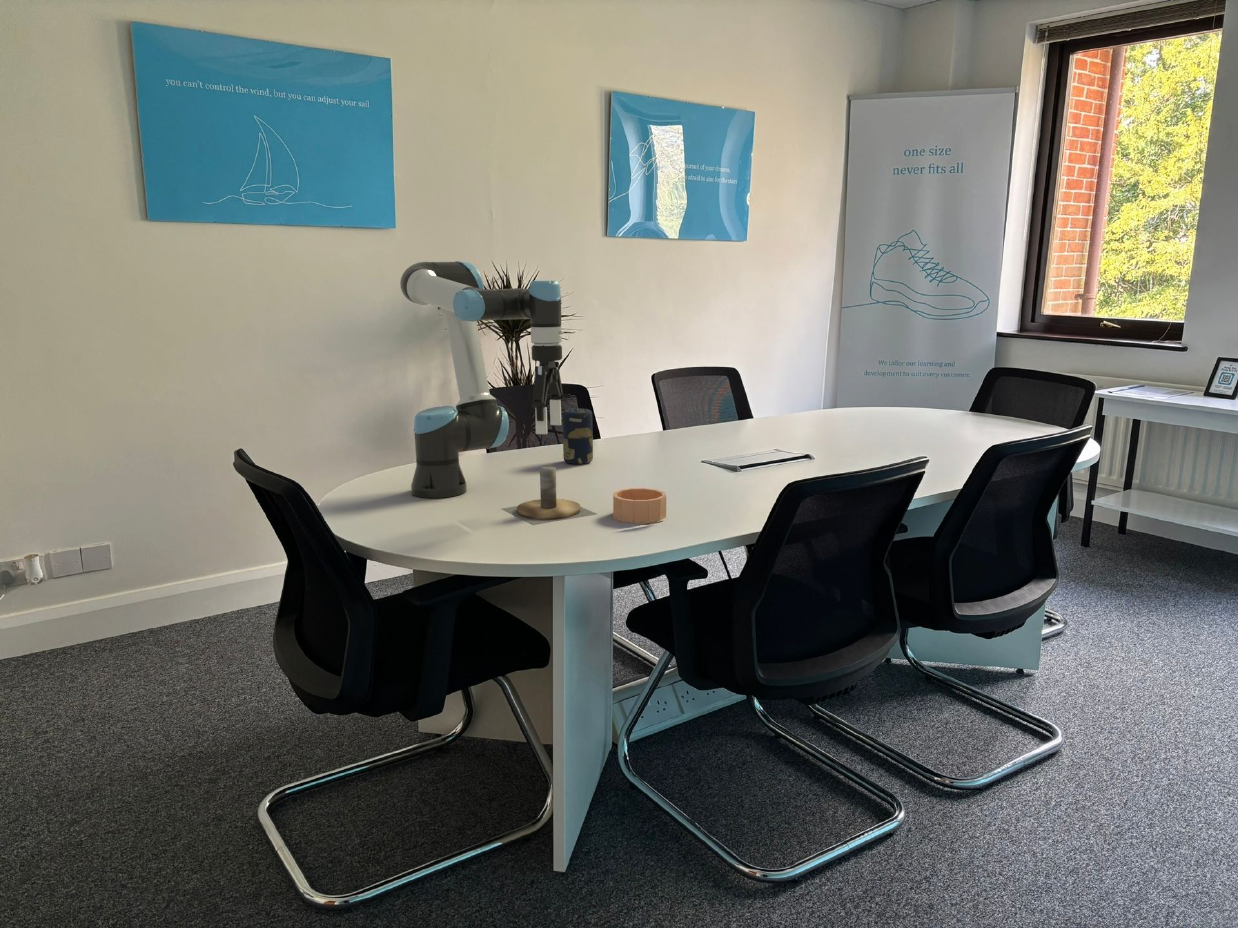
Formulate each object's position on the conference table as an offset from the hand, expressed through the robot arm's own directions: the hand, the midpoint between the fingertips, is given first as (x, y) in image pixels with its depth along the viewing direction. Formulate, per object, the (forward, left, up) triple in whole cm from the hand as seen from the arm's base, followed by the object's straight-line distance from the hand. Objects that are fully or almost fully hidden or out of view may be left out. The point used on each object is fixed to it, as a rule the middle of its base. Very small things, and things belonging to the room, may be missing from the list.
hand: (548, 429), depth 226 cm
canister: (+35, +48, -21) cm, 64 cm away
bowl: (+15, -18, -21) cm, 32 cm away
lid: (-2, -2, -21) cm, 21 cm away
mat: (-2, -2, -21) cm, 21 cm away
